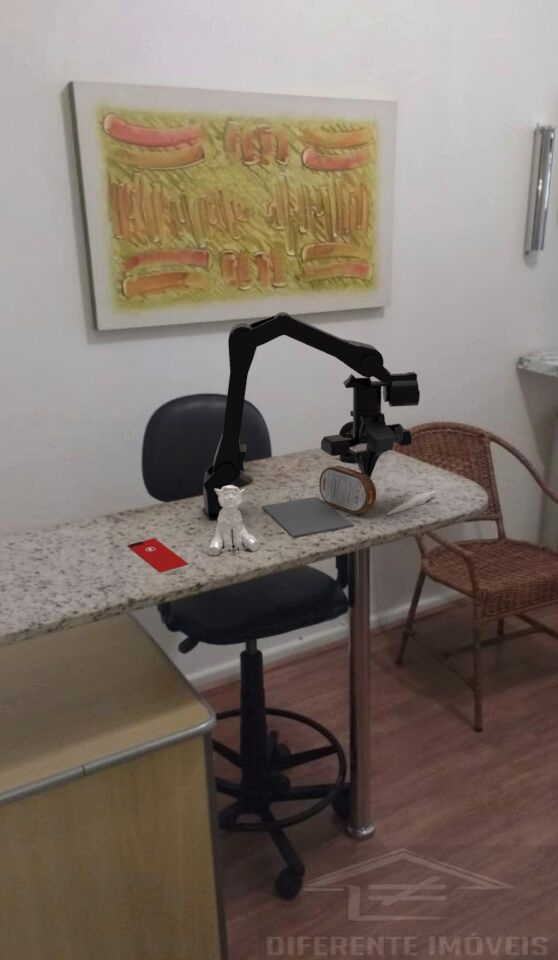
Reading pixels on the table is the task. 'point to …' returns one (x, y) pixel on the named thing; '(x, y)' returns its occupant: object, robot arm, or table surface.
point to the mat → (306, 516)
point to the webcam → (346, 434)
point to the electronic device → (157, 555)
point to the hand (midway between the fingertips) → (366, 479)
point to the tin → (347, 489)
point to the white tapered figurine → (414, 502)
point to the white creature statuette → (231, 524)
